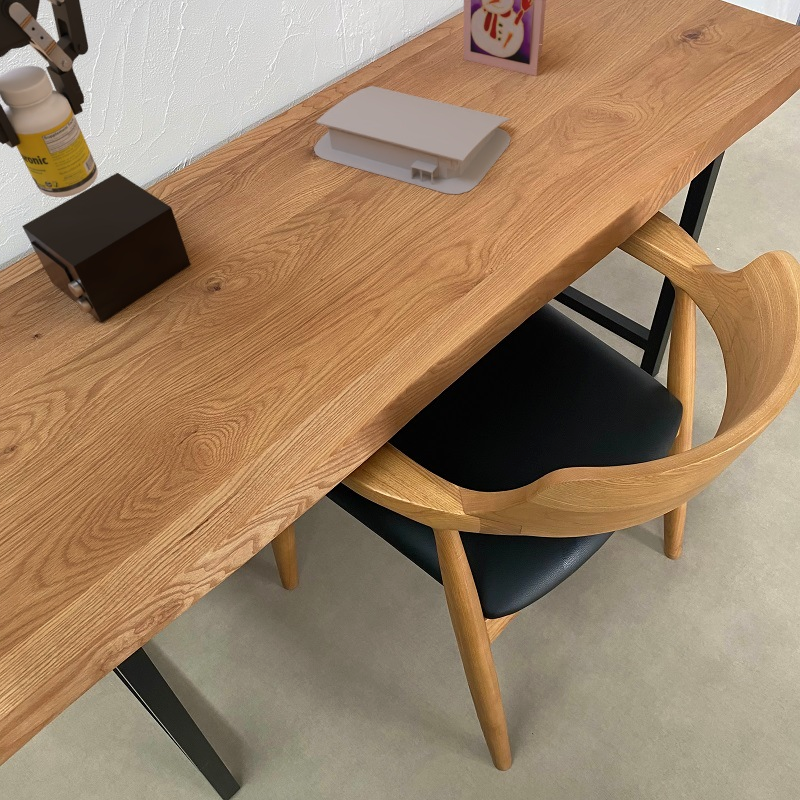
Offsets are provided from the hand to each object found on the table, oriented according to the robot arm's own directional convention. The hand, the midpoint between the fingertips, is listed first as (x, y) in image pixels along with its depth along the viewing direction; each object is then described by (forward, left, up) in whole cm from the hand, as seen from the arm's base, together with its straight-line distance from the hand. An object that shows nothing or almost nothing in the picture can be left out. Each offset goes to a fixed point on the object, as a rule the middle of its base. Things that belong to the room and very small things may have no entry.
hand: (42, 125), depth 67 cm
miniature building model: (+29, +32, -23) cm, 49 cm away
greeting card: (+42, +53, -23) cm, 71 cm away
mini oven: (-3, +7, -23) cm, 24 cm away
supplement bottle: (0, 0, -6) cm, 6 cm away
